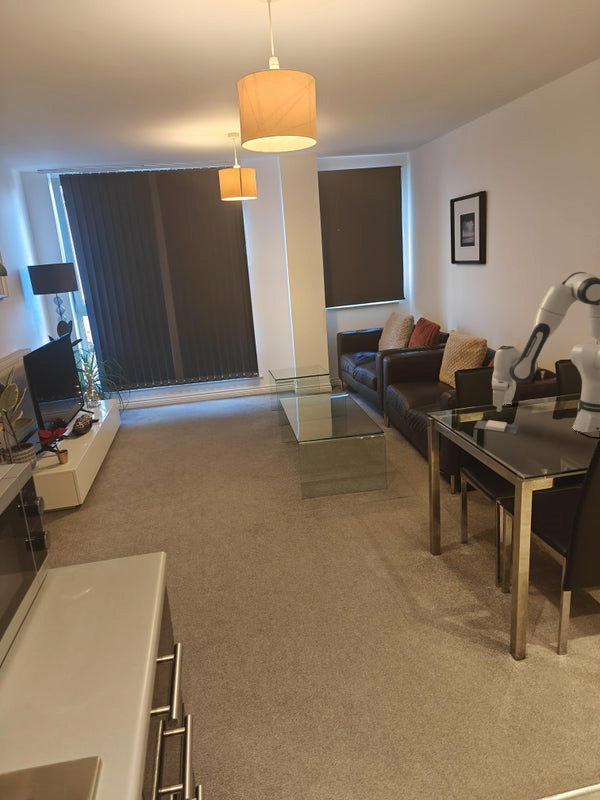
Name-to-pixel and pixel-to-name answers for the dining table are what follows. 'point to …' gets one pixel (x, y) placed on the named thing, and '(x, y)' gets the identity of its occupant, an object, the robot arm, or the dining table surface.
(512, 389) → the jar
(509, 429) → the mat
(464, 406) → the dining table surface
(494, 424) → the tile
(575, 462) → the dining table surface
